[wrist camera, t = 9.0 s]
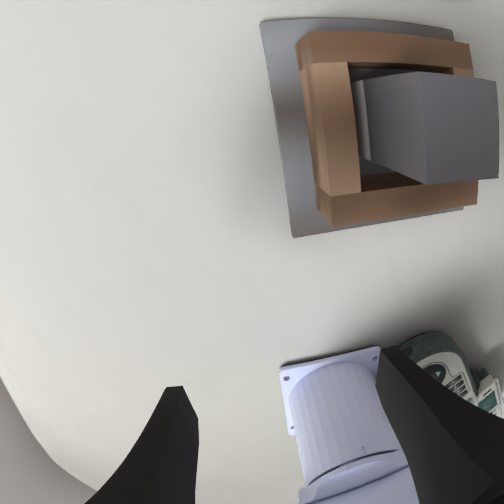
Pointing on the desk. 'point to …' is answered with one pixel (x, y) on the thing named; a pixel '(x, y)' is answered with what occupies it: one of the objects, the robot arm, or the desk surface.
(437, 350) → the communication device
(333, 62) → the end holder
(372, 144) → the connector plug
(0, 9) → the desk surface
